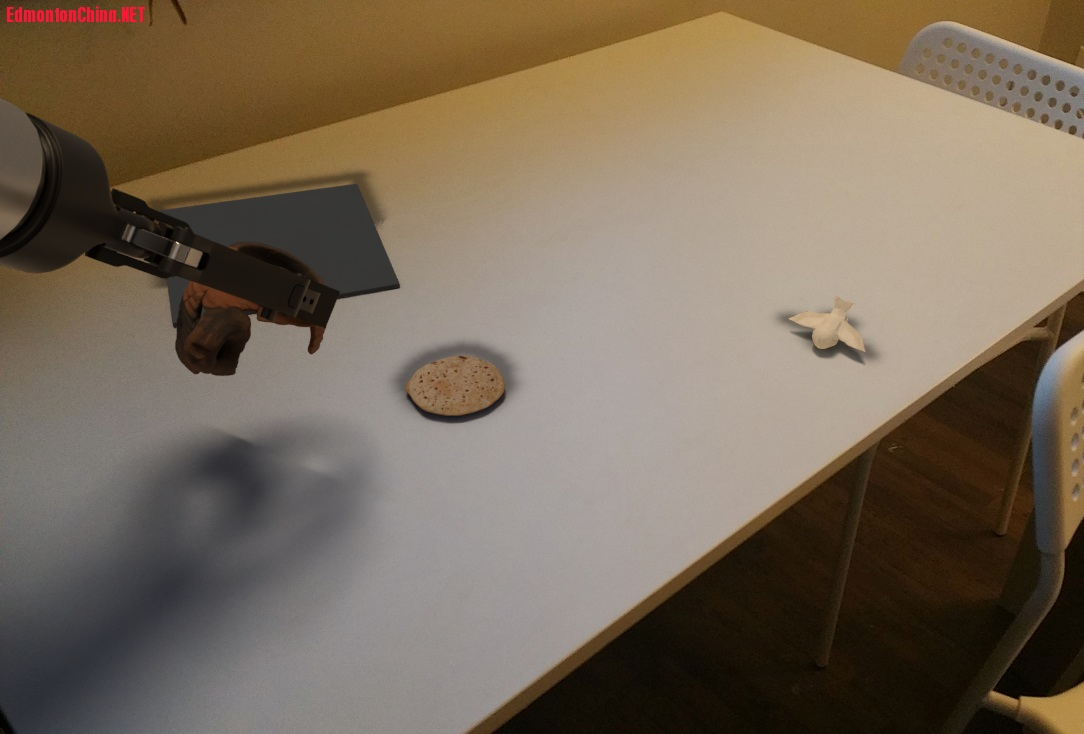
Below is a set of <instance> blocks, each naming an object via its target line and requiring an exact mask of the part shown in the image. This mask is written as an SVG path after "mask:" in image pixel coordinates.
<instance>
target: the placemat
mask: <svg viewBox="0 0 1084 734" xmlns="http://www.w3.org/2000/svg"><path fill="white" fill-rule="evenodd" d="M157 211H159V212H162V213H164V214H167V215H169V216H172V217H174V218H177V219H179V220H182V221H184V222H186V223H188V224H189V226H190V228H191V229H192V230H193V232H194V233H195V234H197V235H199V236H202V237H204V238H207V239H209V240H211V241H214V242H216V243H219V244H221V245H224V246H226V247H230V245H232V244H234V243H238V242H257V243H263V244H266V245H270V246H273V247H276V248H278V249H281V250H284V251H285V252H288V253H289V254H291V255H293V256H295V257H297V258H298V259H300V260H301V261H302V262H304V263H306V264H307V265H308V266H309V267H310V268H312V269H313V270H314V272H315V273H317V274H318V275H319V276H320V277H321V278H322V280H323V281H324V283H325V285H326V286H328V287H330V288H333V289H335V290H337V291H340V293H339V296H338V298H337V300H338V299H343V298H348V297H353V296H354V297H355V296H360V295H365V294H371V293H378V292H383V291H388V290H395V289H399V288H401V285H400V281H399V279H398V277H397V274H396V272H395V269H394V267H393V265H392V262H391V260H390V258H389V256H388V253H387V251H386V248H385V246H384V243H383V240H382V239H381V237H380V234H379V232H378V229H377V227H376V225H375V222H374V220H373V217H372V216H371V213H370V210H369V208H368V206H367V204H366V201H365V199H364V196H363V194H362V191H361V190H360V187H359V185H358V183H350V184H344V185H343V184H342V185H336V186H329V187H328V186H327V187H320V188H314V189H313V188H312V189H307V190H306V189H305V190H299V191H298V190H297V191H292V192H284V193H278V194H269V195H262V196H255V197H247V198H240V199H239V198H238V199H233V200H226V201H225V200H224V201H218V202H217V201H216V202H211V203H210V202H209V203H204V204H203V203H202V204H195V205H188V206H181V207H175V208H174V207H173V208H167V209H159V210H157ZM189 281H190V280H187V279H184V278H181V277H178V276H176V277H175V276H174V278H173V277H170V278H167V279H166V284H167V292H168V293H167V294H168V298H169V300H168V301H169V307H170V315H171V322H172V326H173V328H177V318H178V311H179V309H180V308H179V305H180V303H181V298H182V296H183V294H184V290H185V289H186V287H187V286H188V283H189ZM204 312H205V309H204V308H202V313H201V316H202V315H203V314H204ZM244 312H245V313H246V314H247V315H251V314H257V312H256V311H244Z"/></svg>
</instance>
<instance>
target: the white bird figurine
mask: <svg viewBox="0 0 1084 734" xmlns="http://www.w3.org/2000/svg"><path fill="white" fill-rule="evenodd" d="M854 305H855V303H854V302H851V301H848V300H844V299H843V298H841V297H839V296H837V295H835V296H834V307H833V309H832V310H831V312H830V313H829V312H828V313H827V312H816V311H804V312H801V313H799V314H796V315H794V316H792V317H789V318H788V320H790V321H792V322H794V323H796V324H798V325H800V326H802V327H804V328H810V329H813V331H812V335H811V338H812V342H813V344H814V346H815V347H816V348H817V349H820V350H826V349H829V348H831V347H835V346H836V345H838V342H839V341H841V342H843V343H844V344H845V345H847V346H849V347H850V348H853V349H856V350H859V351H861V352H864V353H866V348H865V345H864V341H863V336H862V333H860V332H859V331H857V329H855V327H853V326H852V325H851V324H850V323H849V322H848V321H849V318H848V317H847V316H846V315H847V313H848V312H849V310H850V309H851V308H852V307H854ZM846 317H847V318H846Z"/></svg>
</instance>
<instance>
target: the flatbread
mask: <svg viewBox="0 0 1084 734" xmlns="http://www.w3.org/2000/svg"><path fill="white" fill-rule="evenodd" d="M404 389H405V392H406V393H407V394H408V395H409V396H410V398H411V400H412V401H413V402H414V403H415V404H416V405H417V407H418V408H419V409H421V410H422V411H425V412H426V413H431V414H434V415H440V416H445V417H459V416H465V415H470V414H474V413H477V412H479V411H483V410H485V409H487V408H489V407H490V406H492V405H493V404H495V402H497V401H498V400H499V399H500V398H501V397H502V396H503V394H504V392H505V381H504V377H503V375H502V373H501V372H500V370H499V369H498V367H497V366H496V365H494V364H492V363H490V362H488V361H486V360H483V359H480V358H479V357H475V356H467V355H462V354H461V355H459V354H458V355H453V356H448V357H445V358H440V359H438V360H434V361H431V362H429V363H427V364H425V365H424V366H422V367H420V368H418V369H417V370H415V372H414V373H413V375H412V376H411V378H410V379H409V380H408V382H407V383H406V384H405V388H404Z"/></svg>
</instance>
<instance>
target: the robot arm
mask: <svg viewBox="0 0 1084 734" xmlns="http://www.w3.org/2000/svg"><path fill="white" fill-rule="evenodd" d="M107 169H108V168H107V166H106V164H105V162H104V160H103V158H102V156H101V155H100V153H99V152H98V151H97V150H96V148H94V146H93V145H92V144H90V142H88V141H87V140H86V139H84V138H82V137H80V136H79V135H77V134H74V133H72V132H70V131H68V130H67V129H64V128H61V127H60V126H57V125H55V124H53V123H51V122H49V121H46V120H44V119H42V118H41V117H39V116H37V115H33V114H32V113H29V112H25V111H24V110H22V109H21V108H19V107H18V106H16V105H15V104H13V103H12V102H9V101H7V100H5V99H3V98H1V97H0V266H2V267H5V268H8V269H11V270H14V271H19V272H23V273H26V274H27V273H28V274H45V273H51V272H55V271H57V270H60V269H62V268H65V267H67V266H68V265H70V264H72V263H74V262H75V261H76V260H78V259H79V258H80V257H81V256H83V255H84V257H86V258H89V259H92V260H95V261H97V262H100V263H103V264H107V265H109V266H112V267H117V268H119V267H123V266H125V267H129V268H132V269H134V270H137V271H140V272H143V273H146V274H149V275H152V276H154V277H157V278H160V279H163V280H167V278H170V277H173V278H174V276H175V277H176V276H178V277H181V278H184V279H187V280H190V281H193V282H196V283H199V284H202V285H204V286H207V287H210V288H213V289H216V290H219V291H222V292H224V293H227V294H230V295H233V296H236V297H239V298H242V299H244V300H247V301H250V302H253V303H256V304H258V305H259V306H262V307H263V309H262V312H261V314H260V317H262V318H265V319H267V320H270V321H273V322H274V320H275V317H276V315H277V312H279V313H281V315H283V316H286V317H289V316H290V317H294V318H297V319H300V320H303V321H306V322H308V323H311V324H314V325H317V326H320V327H323V328H326V329H327V326H328V323H329V321H330V318H331V316H332V313H333V310H334V308H335V307H336V304H337V301H338V299H339V298H338V296H339V293H340V291H337V290H335V289H333V288H330V287H328V286H325V285H323V284H320V283H318V282H316V281H313V280H311V279H309V278H306V276H305V275H302V274H300V273H297V274H296V273H294V272H291V271H289V270H288V269H285V268H282V267H279V266H276V265H271V264H269V263H266V262H264V261H261V260H259V259H256V258H254V257H251V256H249V255H246V254H244V253H241V252H239V251H236V250H234V249H231V248H229V247H226V246H224V245H221V244H219V243H216V242H214V241H211V240H209V239H207V238H204V237H202V236H199V235H197V234H195V233H194V232H193V230H192V229H191V228H190V226H189V224H188V223H186V222H184V221H182V220H179V219H177V218H174V217H172V216H169V215H167V214H164V213H162V212H159V211H158V210H156V209H154V208H152V207H150V206H149V205H148V204H147V202H146V201H145V200H143V199H142V198H139V197H137V196H134V195H132V194H129V193H126V192H124V191H121V190H119V189H116V188H113V187H112V188H111V183H110V177H109V173H108V170H107ZM155 221H157V222H158V223H157V222H155ZM142 259H143V260H142ZM337 298H338V299H337Z"/></svg>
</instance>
